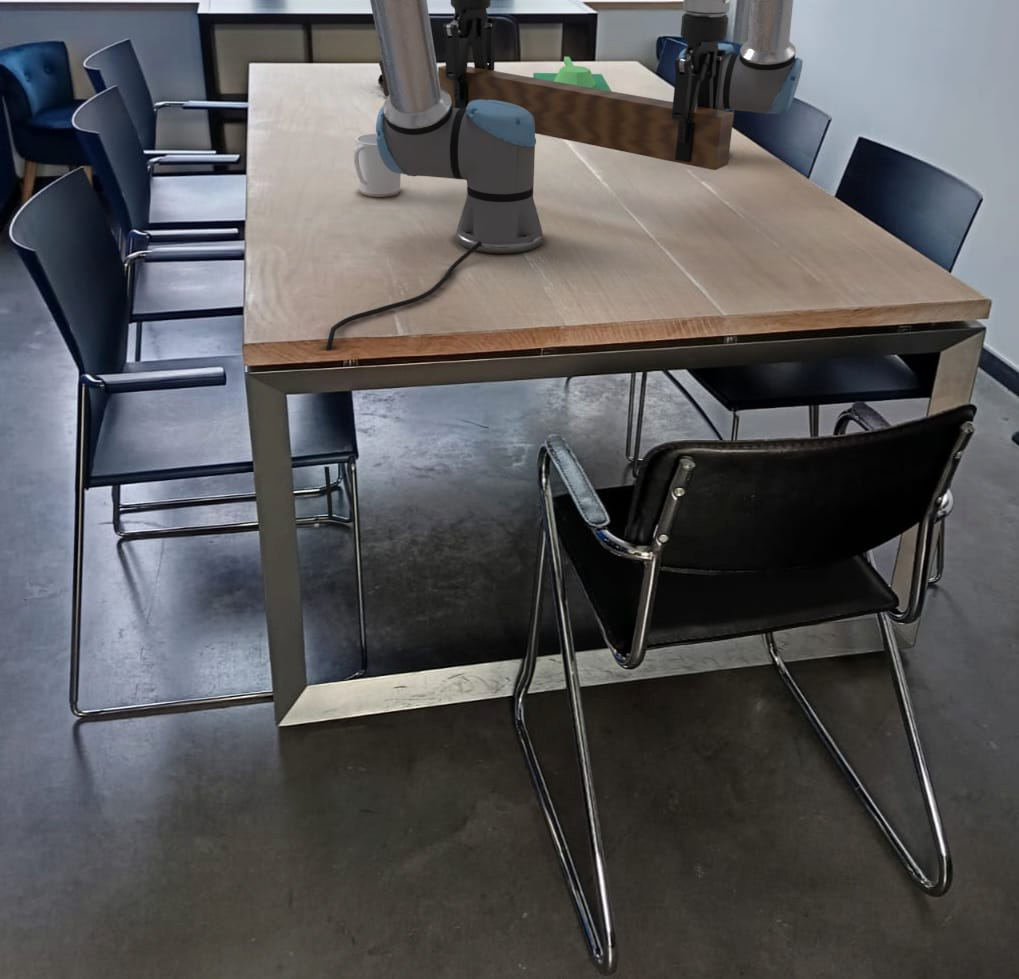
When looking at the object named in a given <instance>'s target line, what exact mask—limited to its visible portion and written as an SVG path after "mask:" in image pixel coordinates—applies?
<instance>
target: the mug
mask: <svg viewBox="0 0 1019 979" xmlns="http://www.w3.org/2000/svg"><path fill="white" fill-rule="evenodd" d="M376 138H377V132H374V133H365V134H364V133H363V134H361V135H358V136H356V137H355V138H354V142H355V144H354V145H355V148H354V150H353V155H352V158H353V164H354V169H355V172H356V175H357V178H358V183H359V191H360V193H361V194H362V195H365V196H367V197H374V198H386V197H393V196H396V195H398V194H399V193H400V192H401V175H402V174H399V173H395V172H392V171H391V170H389V169H388V168H387V167H386V166H385V164H384V163H383V161H382V159H381V157H380V154H379V151H378V146H377V140H376Z"/></svg>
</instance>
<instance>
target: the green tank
mask: <svg viewBox="0 0 1019 979" xmlns="http://www.w3.org/2000/svg"><path fill="white" fill-rule="evenodd" d="M563 63H564V66H562V67H561V68H560V69H559V70H558V72H533V75H532V78H538V79H543V80H549V81H555V82H561V83H566V84H572V85H578V86H584V87H589V88H595V89H601V90H607V91H612V90H611V87H610V86H609V84H608V82H607V81H606V79H605V77H604V75H603V74H602V73H592V71H591V68H588V67H585V66H579V65H574V63H573V61H572V59H571V57H570V56H563Z"/></svg>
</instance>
